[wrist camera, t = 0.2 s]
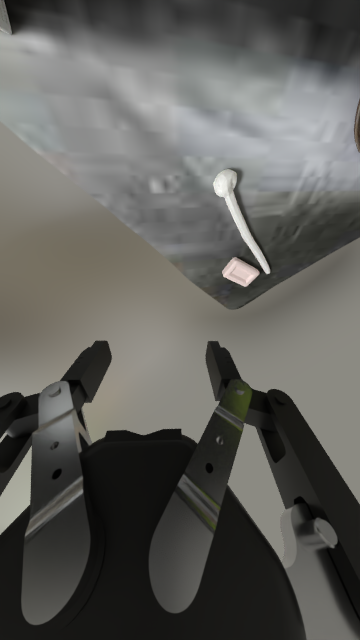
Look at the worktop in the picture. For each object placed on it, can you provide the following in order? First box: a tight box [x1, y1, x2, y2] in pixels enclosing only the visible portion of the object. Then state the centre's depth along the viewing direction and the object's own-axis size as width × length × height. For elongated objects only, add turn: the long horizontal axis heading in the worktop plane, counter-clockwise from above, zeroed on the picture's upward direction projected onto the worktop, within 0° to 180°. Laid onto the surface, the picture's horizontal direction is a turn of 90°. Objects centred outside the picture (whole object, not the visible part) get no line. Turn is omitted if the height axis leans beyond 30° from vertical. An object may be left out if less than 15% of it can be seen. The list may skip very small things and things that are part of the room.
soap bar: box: [222, 257, 259, 287], centre depth 42 cm, size 5×9×2 cm, turn 63°
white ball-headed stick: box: [213, 169, 270, 274], centre depth 34 cm, size 28×4×3 cm, turn 44°
